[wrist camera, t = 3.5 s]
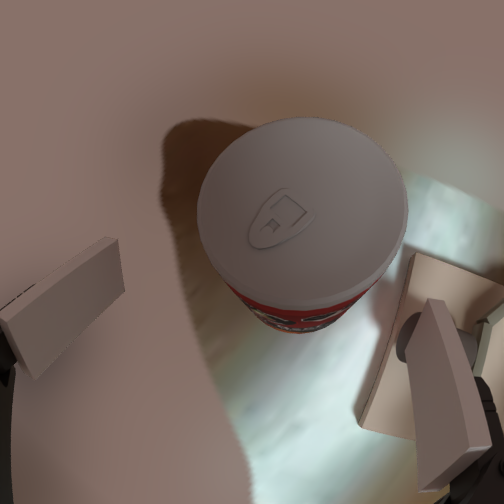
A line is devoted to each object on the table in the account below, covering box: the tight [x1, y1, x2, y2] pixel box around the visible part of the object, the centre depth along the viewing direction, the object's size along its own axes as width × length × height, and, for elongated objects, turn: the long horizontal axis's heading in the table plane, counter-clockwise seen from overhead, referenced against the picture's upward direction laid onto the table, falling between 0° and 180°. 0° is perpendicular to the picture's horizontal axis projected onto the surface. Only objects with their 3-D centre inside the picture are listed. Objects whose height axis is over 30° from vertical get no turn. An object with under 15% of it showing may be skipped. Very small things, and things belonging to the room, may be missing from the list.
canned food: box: [197, 117, 408, 334], centre depth 16 cm, size 8×8×11 cm
